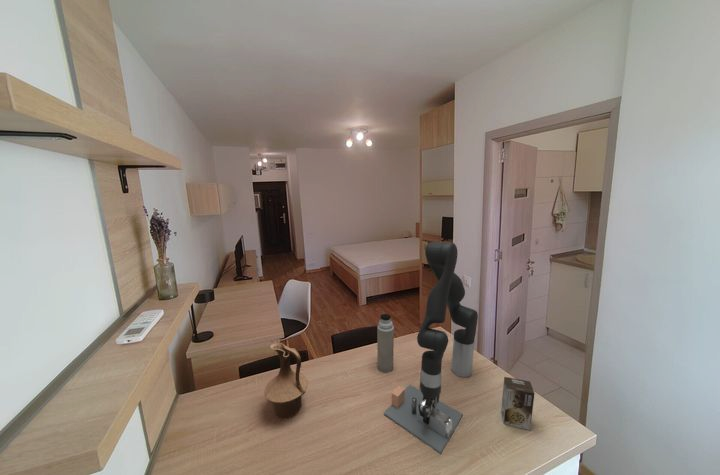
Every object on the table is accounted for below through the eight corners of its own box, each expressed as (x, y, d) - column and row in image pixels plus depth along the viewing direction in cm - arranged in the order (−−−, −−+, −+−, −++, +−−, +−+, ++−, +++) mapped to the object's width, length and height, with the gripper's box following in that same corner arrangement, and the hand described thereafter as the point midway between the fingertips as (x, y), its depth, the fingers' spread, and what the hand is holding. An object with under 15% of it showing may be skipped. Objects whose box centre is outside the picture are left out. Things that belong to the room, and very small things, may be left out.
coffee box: (526, 416, 104) (530, 381, 101) (530, 431, 98) (535, 393, 95) (500, 410, 107) (504, 375, 104) (503, 424, 101) (507, 387, 98)
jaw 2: (416, 419, 102) (417, 407, 101) (419, 416, 104) (419, 404, 103) (448, 439, 94) (448, 426, 93) (450, 435, 96) (451, 422, 95)
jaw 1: (419, 415, 104) (420, 403, 103) (422, 412, 106) (422, 400, 104) (450, 435, 96) (451, 422, 95) (452, 431, 97) (453, 418, 96)
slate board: (409, 386, 120) (409, 384, 120) (462, 415, 105) (462, 414, 105) (383, 414, 106) (383, 412, 106) (440, 454, 90) (440, 452, 90)
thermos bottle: (393, 362, 136) (394, 312, 130) (392, 373, 128) (393, 320, 123) (378, 361, 138) (378, 311, 132) (376, 371, 130) (376, 319, 124)
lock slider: (391, 404, 110) (391, 392, 108) (398, 396, 113) (398, 385, 112) (397, 408, 108) (397, 396, 106) (404, 400, 111) (404, 389, 110)
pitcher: (317, 399, 114) (314, 340, 108) (292, 432, 99) (287, 366, 93) (285, 386, 121) (281, 331, 115) (257, 416, 106) (250, 354, 100)
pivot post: (410, 412, 106) (411, 399, 104) (413, 409, 107) (413, 396, 106) (414, 415, 104) (415, 401, 103) (417, 412, 106) (417, 399, 104)
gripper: (430, 365, 105) (428, 402, 109) (411, 385, 95) (410, 425, 98) (448, 373, 100) (446, 412, 104) (431, 396, 90) (429, 438, 93)
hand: (428, 418), depth 101 cm, fingers open, 4 cm apart
